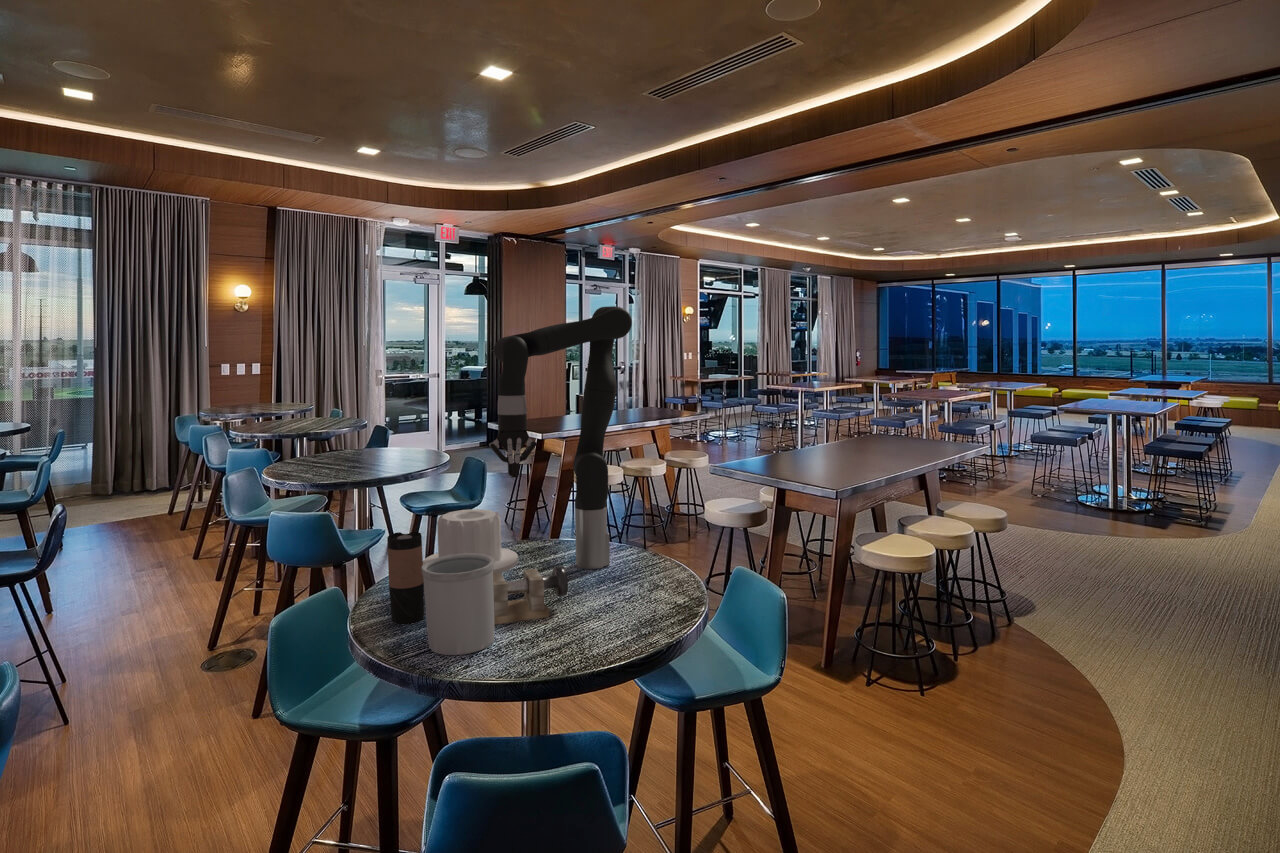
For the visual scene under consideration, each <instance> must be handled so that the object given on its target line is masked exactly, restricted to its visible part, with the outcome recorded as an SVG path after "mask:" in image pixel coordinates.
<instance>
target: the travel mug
mask: <svg viewBox="0 0 1280 853" xmlns="http://www.w3.org/2000/svg"><path fill="white" fill-rule="evenodd" d="M423 558H424V557H423V542H422V533H421V532H419V531H414V530H413V531H411V532H409V533H402V532H394V533H391V534H389V535H388V536H387V564H388V565H387V566H388V589H389V591H388V592H389V602H390V604H389V605H390V611H391V612H390V614H391V622H392V623H393V624H394V623H396V624H395V625H398V624H408V625H413V624H412V623H414V624H417V623H419V622H421V621H422V620H423V619H424V617H425V594H424V577H423V575H422V565H423V560H424V559H423Z"/></svg>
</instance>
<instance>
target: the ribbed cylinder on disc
mask: <svg viewBox="0 0 1280 853" xmlns="http://www.w3.org/2000/svg"><path fill="white" fill-rule="evenodd" d="M501 522H502V521H501V515H500V513H498V512H497V511H492V510H491V509H478V508H475V509H474V508H473V509H470V508H469V509H461V510H454V511H449V512H446V513H445V514H440V516H439V517H438V520H437V523H436V526H437V528H436V529H437V551H438V552H436V553H434V554H431V555H429V556H427V557H425V558H424V559H423V564H424V563H426V562H428V561H430V560H432V559H435V558H439V557H443V556H447V555H453V554H463V553H475V554H484V555H487V556H490V557H491V558H492V559H493V561H494V567H493V574H495V573H501V574H502V573H504V572H507V571H510V570H511V569H513V568H514V567H516V566H517V565H518V563H519V555H518V554H517V552H515V551H513V550H511V549H508V548H504V547H502V529H501V528H502V524H501Z"/></svg>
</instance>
